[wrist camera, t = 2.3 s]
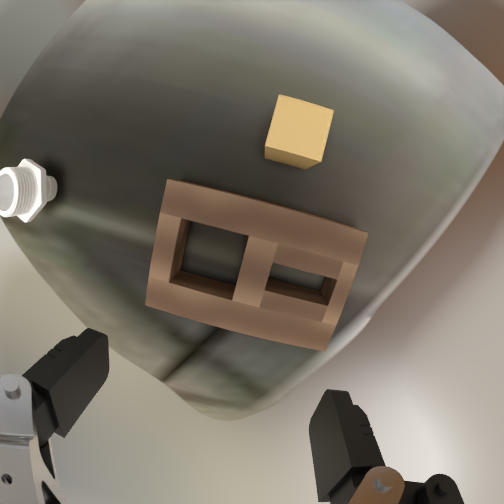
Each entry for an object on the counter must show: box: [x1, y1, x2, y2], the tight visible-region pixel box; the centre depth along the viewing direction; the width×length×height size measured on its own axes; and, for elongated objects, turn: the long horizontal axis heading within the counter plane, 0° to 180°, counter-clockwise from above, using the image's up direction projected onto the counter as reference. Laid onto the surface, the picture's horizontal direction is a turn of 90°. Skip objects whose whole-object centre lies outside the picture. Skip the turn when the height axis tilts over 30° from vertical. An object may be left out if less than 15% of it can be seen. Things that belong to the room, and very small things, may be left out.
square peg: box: [265, 94, 334, 169], centre depth 22 cm, size 4×4×8 cm
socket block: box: [145, 179, 369, 351], centre depth 26 cm, size 12×18×4 cm, turn 75°
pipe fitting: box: [0, 159, 57, 222], centre depth 24 cm, size 6×7×8 cm
